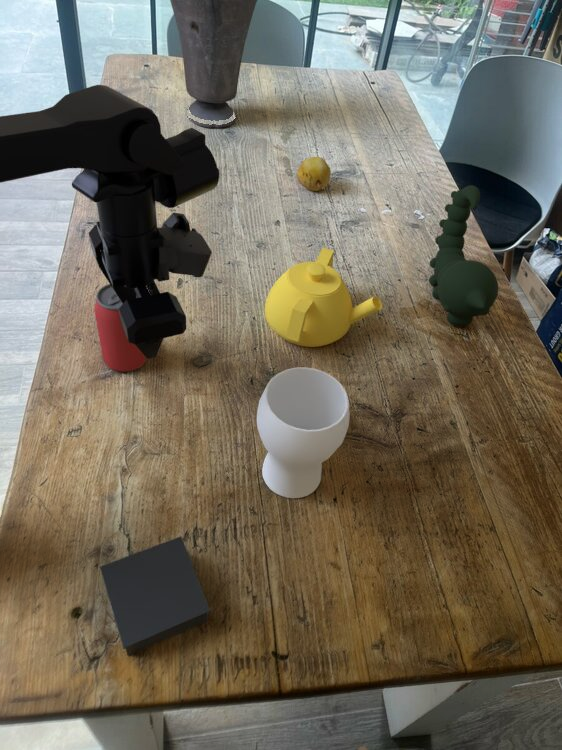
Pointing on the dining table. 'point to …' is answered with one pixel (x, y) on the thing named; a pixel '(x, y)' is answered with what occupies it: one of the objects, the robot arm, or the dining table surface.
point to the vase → (212, 52)
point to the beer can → (114, 333)
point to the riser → (154, 595)
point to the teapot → (314, 304)
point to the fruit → (314, 173)
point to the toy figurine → (461, 266)
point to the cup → (300, 428)
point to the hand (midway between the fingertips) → (140, 332)
